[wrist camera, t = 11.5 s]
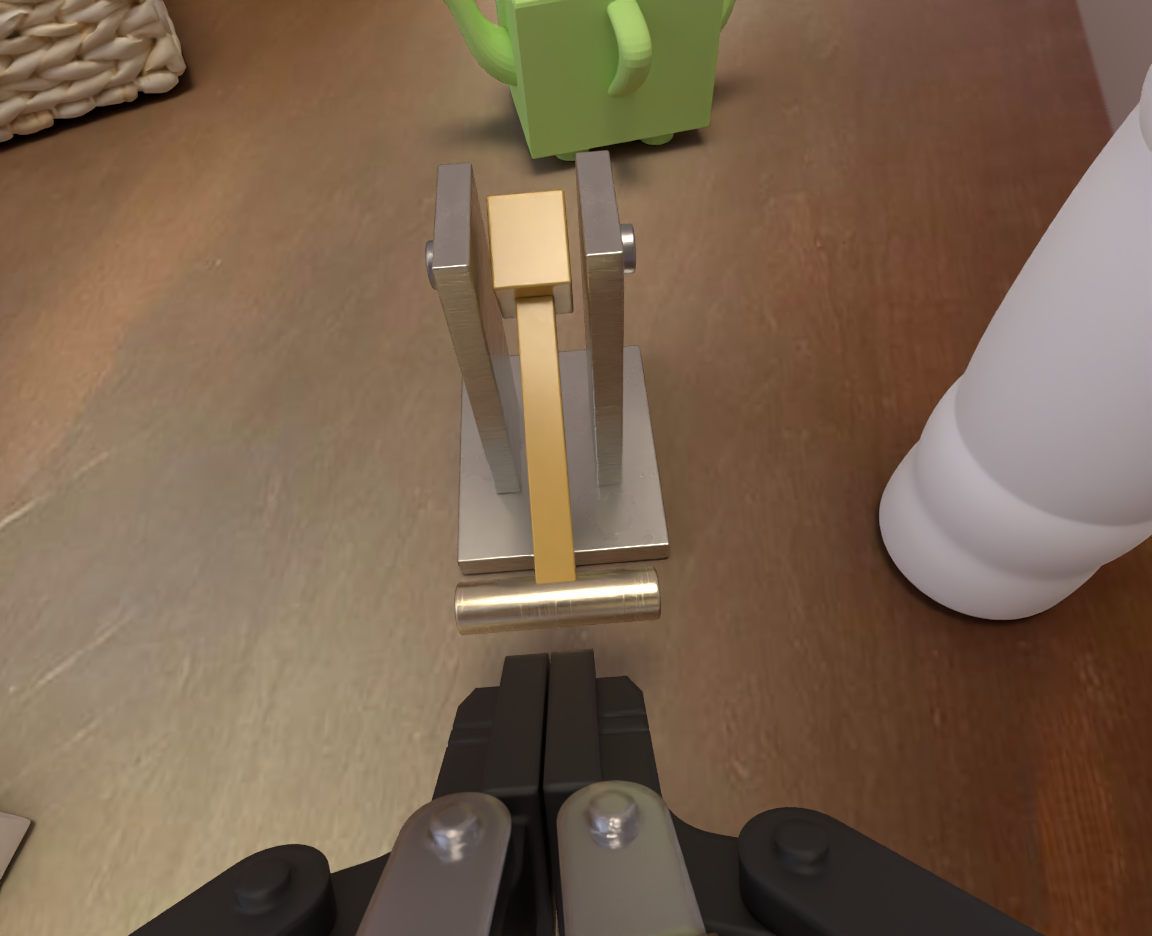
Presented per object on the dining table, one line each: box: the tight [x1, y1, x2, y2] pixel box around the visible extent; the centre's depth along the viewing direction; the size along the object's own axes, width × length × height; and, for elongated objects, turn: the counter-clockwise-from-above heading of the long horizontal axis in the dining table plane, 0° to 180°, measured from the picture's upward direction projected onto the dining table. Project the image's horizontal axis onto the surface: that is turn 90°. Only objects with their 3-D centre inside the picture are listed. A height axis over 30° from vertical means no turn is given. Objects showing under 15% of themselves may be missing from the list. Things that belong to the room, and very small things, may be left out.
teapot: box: [443, 0, 736, 161], centre depth 39 cm, size 15×13×11 cm
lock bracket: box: [425, 150, 670, 575], centre depth 25 cm, size 10×8×13 cm
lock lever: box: [454, 190, 661, 635], centre depth 20 cm, size 12×6×2 cm, turn 3°
